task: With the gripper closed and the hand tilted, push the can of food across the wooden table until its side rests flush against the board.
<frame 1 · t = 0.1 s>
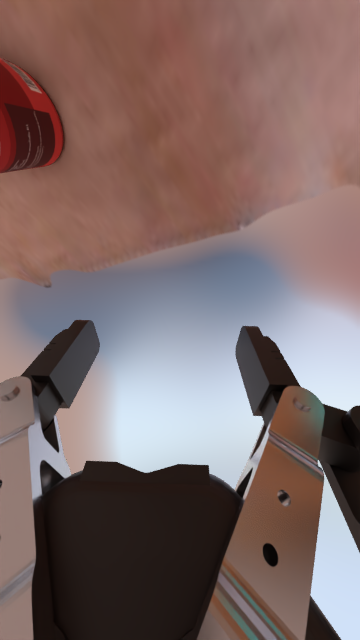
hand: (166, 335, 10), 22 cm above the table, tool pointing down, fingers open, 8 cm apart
canned food: (28, 121, 21), on the table
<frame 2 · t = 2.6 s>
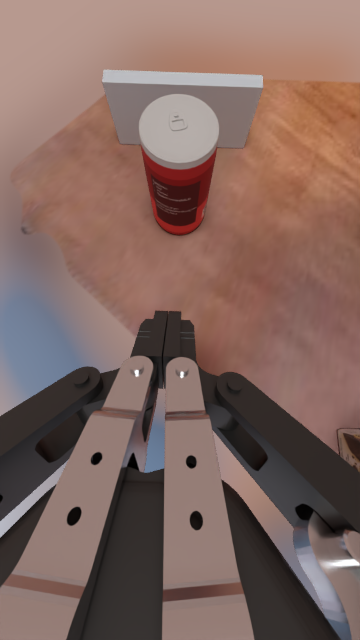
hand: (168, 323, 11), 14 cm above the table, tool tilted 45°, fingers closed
canned food: (179, 213, 28), on the table
stop board: (182, 140, 30), on the table
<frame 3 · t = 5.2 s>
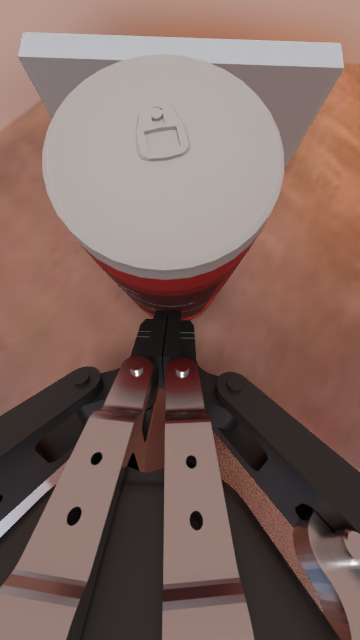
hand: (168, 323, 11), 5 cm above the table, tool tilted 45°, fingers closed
canned food: (174, 280, 17), on the table, touching gripper
stop board: (180, 161, 18), on the table
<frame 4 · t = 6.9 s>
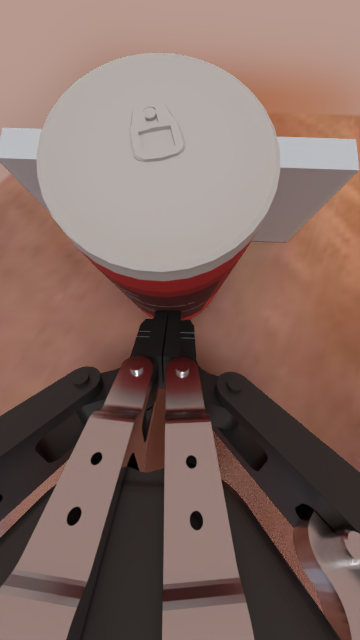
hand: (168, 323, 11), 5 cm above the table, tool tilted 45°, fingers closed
canned food: (172, 280, 17), on the table, touching gripper, stop board
stop board: (178, 228, 17), on the table
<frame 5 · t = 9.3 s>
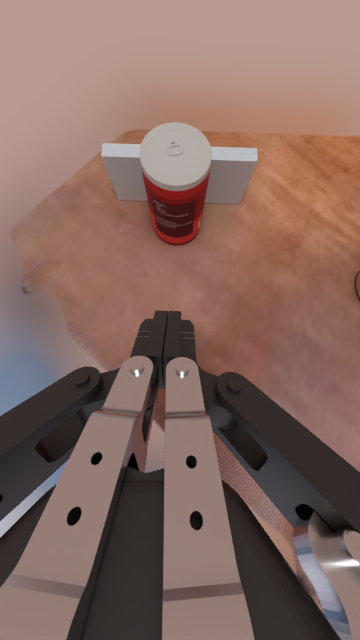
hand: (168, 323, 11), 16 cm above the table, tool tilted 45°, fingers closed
canned food: (176, 224, 30), on the table
stop board: (179, 196, 31), on the table
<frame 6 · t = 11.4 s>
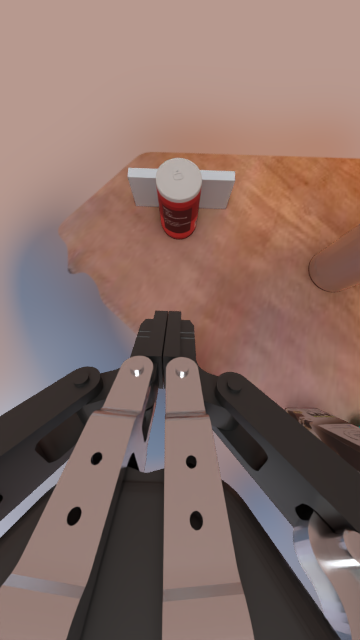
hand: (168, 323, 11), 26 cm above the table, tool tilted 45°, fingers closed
canned food: (178, 224, 41), on the table
coffee box: (302, 433, 34), on the table
stop board: (181, 203, 42), on the table
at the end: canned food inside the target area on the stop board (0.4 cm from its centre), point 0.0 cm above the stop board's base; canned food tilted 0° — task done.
